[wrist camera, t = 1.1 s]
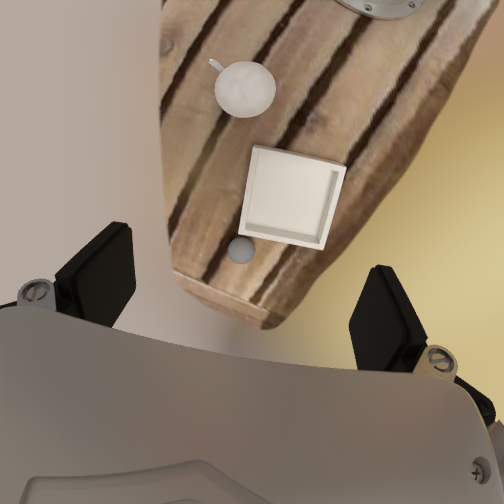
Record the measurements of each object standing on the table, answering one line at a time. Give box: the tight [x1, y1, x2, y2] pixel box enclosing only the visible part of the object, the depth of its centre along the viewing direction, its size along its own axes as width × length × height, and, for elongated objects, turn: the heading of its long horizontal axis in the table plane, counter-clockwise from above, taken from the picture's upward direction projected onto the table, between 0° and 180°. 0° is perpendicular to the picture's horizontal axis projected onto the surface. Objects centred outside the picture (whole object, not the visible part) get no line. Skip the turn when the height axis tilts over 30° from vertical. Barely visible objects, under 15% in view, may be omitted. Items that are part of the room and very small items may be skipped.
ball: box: [228, 237, 255, 264], centre depth 33 cm, size 3×3×3 cm
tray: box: [238, 144, 346, 250], centre depth 30 cm, size 9×9×2 cm
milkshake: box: [208, 58, 276, 118], centre depth 22 cm, size 4×5×10 cm
